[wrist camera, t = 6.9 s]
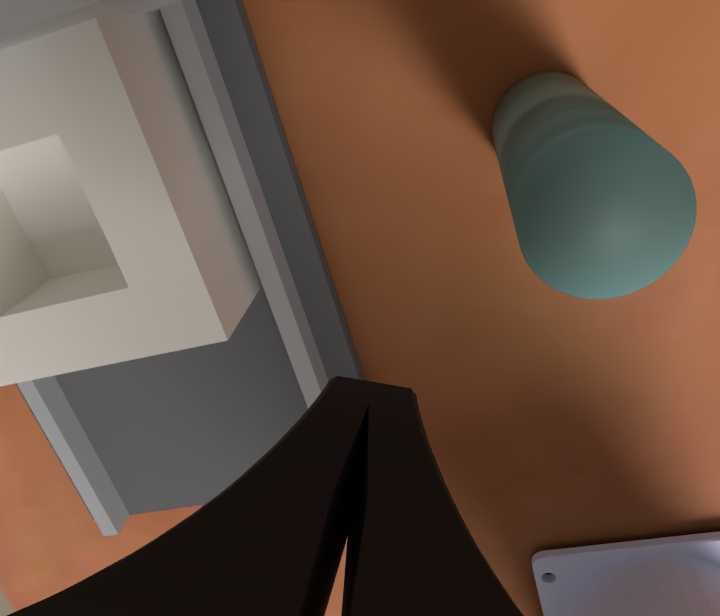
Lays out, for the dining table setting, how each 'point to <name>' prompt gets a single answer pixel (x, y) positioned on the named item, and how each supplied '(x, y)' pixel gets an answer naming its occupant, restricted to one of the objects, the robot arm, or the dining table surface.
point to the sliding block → (110, 205)
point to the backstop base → (257, 326)
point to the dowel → (589, 189)
